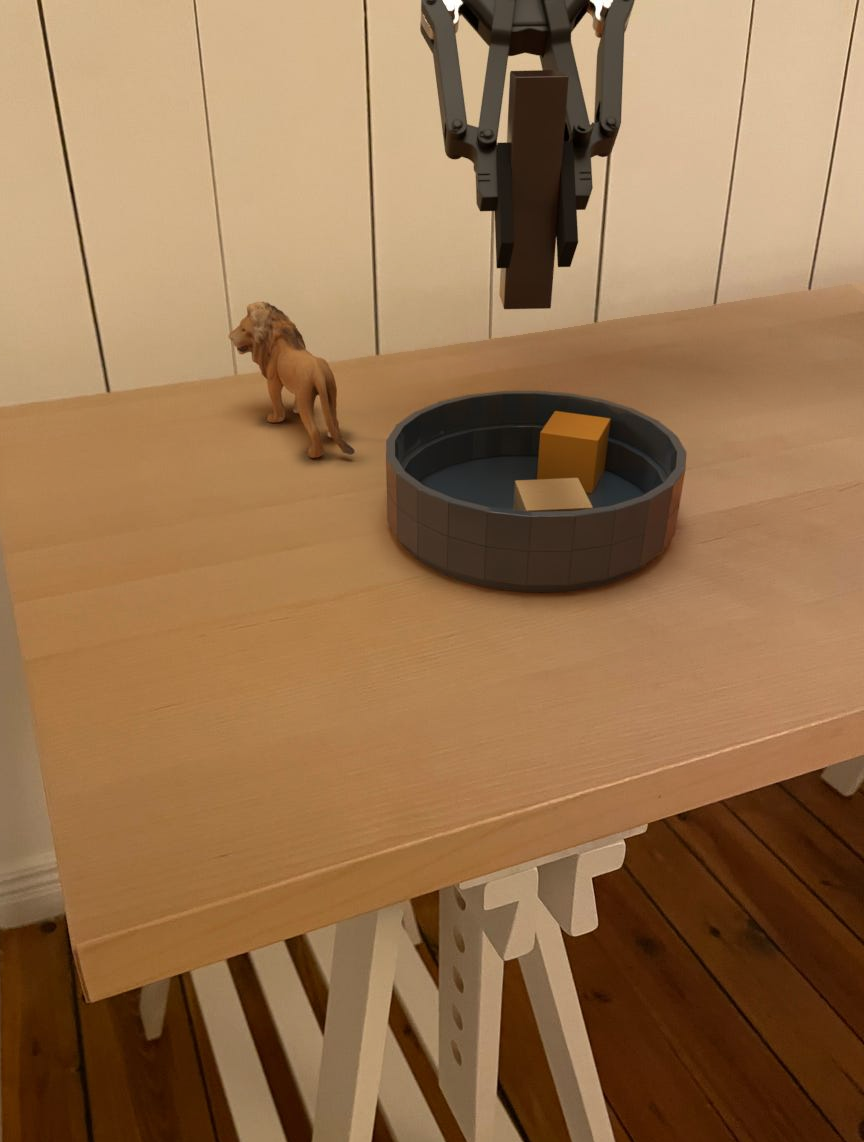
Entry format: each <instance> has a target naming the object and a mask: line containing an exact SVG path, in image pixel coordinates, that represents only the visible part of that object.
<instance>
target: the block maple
mask: <svg viewBox="0 0 864 1142" xmlns="http://www.w3.org/2000/svg"><path fill="white" fill-rule="evenodd" d="M586 509H593V507H592V505H591V503H590V501H589V499H588V497H587V495H586V493H585V491H584V489H583V487H582V485H581V483H580V481H579V479H578V478H561V479H539V480H517V481H515V490H514V506H513V510H518V511H528V512H555V511H579V510H586Z"/></svg>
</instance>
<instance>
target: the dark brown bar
mask: <svg viewBox="0 0 864 1142" xmlns="http://www.w3.org/2000/svg"><path fill="white" fill-rule="evenodd" d="M568 80H569V77H568V76H567V75H566V74H565V73H564V72H562V71H561V70H542V69H537V70H535V69H534V70H531V69H530V70H510V72H509V88H508V109H507V128H506V129H507V131H506V142H510V160H511V174H512V200H513V225H514V247H513V251H512V256H511V261H510V266H509V268H500V273H499V275H500V276H499V294H498V295H499V298H500V301H501V304H502V308H503V309H504V310H541V309H545V310H546V309H549V310H550V309H551V308H552V298H553V297H552V296H553V284H554V271H555V259H556V248H557V239H556V233H557V220H558V207H559V194H560V181H561V168H562V157H563V144H564V131H565V119H566V106H567V93H568Z"/></svg>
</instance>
